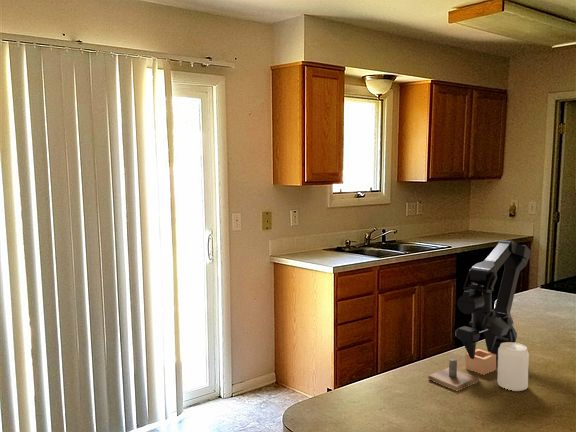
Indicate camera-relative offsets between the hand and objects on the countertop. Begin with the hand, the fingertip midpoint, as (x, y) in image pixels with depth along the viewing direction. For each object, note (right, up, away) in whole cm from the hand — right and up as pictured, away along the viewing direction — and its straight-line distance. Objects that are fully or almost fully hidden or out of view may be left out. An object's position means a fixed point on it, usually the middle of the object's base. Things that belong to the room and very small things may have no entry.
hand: (481, 355), depth 162 cm
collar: (0, -5, 0) cm, 5 cm away
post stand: (-11, -6, -8) cm, 15 cm away
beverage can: (+5, -6, -12) cm, 14 cm away
